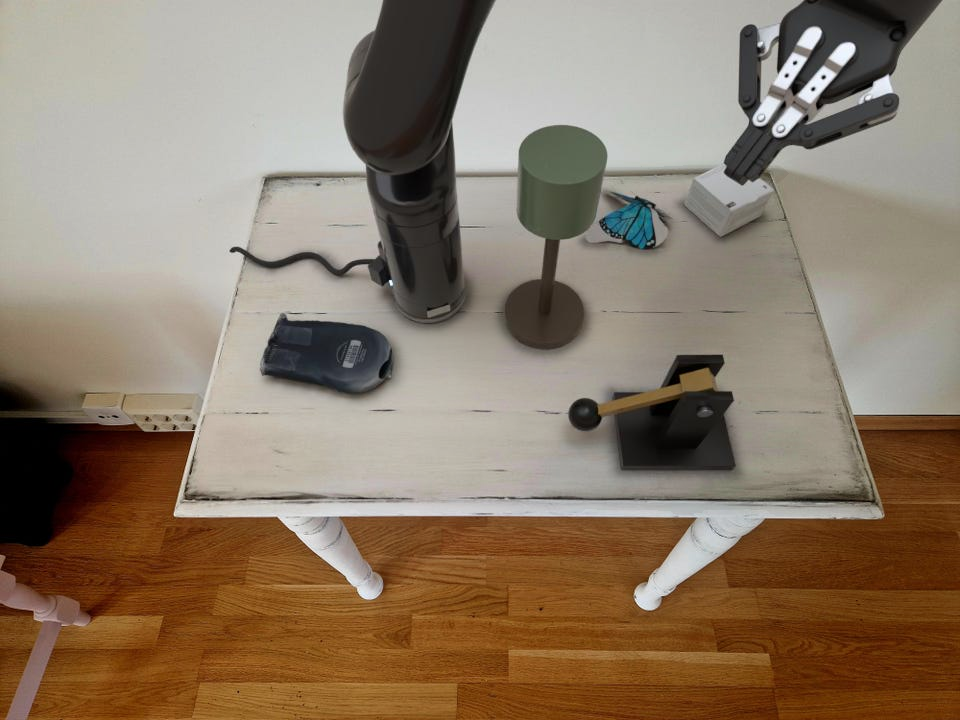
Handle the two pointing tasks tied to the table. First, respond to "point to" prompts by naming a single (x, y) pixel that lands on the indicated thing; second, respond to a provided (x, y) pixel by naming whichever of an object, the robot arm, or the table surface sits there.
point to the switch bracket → (678, 425)
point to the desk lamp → (554, 227)
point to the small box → (726, 200)
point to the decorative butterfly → (631, 224)
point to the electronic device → (328, 354)
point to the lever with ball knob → (637, 400)
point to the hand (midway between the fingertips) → (733, 179)
